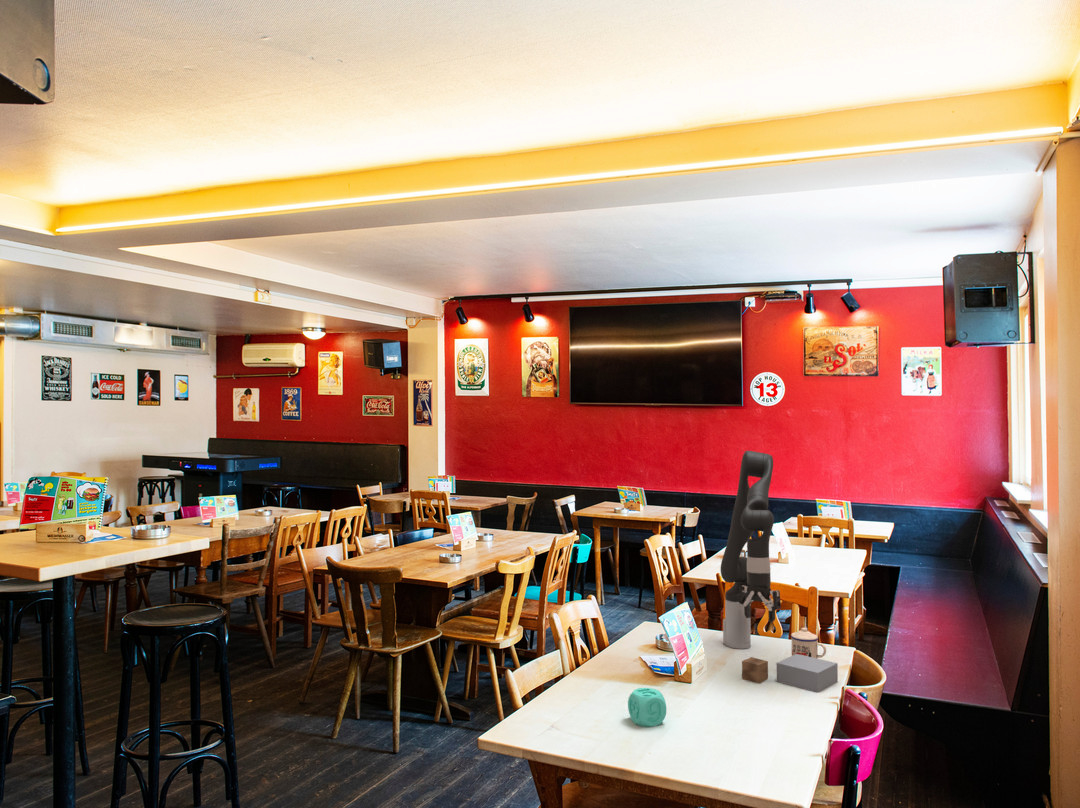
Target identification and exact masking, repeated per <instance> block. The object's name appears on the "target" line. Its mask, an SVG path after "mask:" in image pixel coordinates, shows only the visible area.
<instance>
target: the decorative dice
mask: <svg viewBox="0 0 1080 808" xmlns="http://www.w3.org/2000/svg"><path fill="white" fill-rule="evenodd" d="M627 708H628V709H627V710H628V714H629V717H630V719H631V720H632V722H633V723H634V724H636V725H637V726H639V727H640V726H641V727H645V728H647V727H649V728H653V727H657V726H660V725H661V724H662V723H663V721H664V720H665V719H666V715H667V703H666V699H665V697H664V695H663V693H662V692H661V691H660V690H659V689H655V688H651V687H639V688H636V689H634V690H633V691H632V692H631V693H630V694H629V697H628V700H627Z"/></svg>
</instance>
